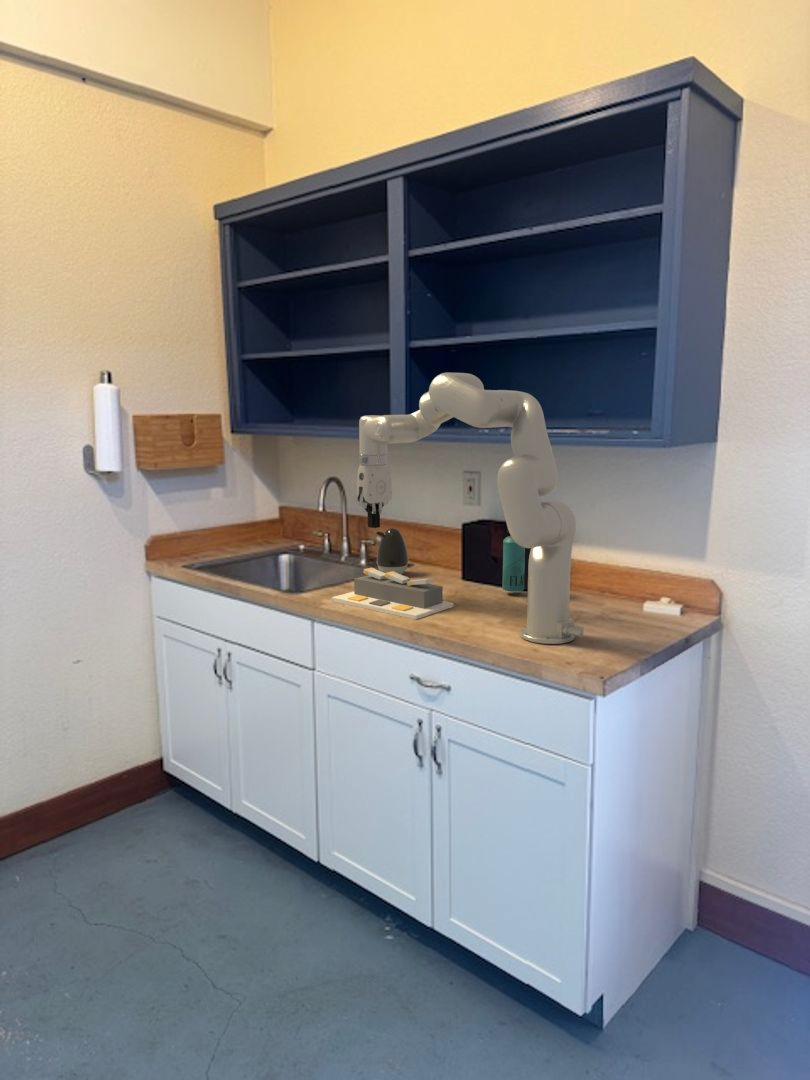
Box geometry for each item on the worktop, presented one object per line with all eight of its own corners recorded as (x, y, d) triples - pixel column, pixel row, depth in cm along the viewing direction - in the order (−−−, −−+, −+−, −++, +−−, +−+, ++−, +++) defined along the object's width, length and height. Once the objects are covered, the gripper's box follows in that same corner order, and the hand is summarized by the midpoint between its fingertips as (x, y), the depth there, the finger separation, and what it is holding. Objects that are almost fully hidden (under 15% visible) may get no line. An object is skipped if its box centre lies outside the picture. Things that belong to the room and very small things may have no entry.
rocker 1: (387, 577, 212) (388, 574, 211) (379, 579, 209) (380, 576, 209) (371, 570, 215) (371, 567, 215) (363, 572, 213) (363, 569, 213)
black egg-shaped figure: (372, 572, 246) (371, 526, 243) (402, 570, 249) (402, 524, 246) (381, 579, 236) (380, 531, 234) (412, 576, 240) (412, 529, 237)
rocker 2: (433, 581, 201) (432, 577, 201) (425, 583, 199) (425, 579, 199) (415, 583, 205) (414, 579, 205) (407, 585, 203) (406, 581, 203)
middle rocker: (409, 581, 207) (410, 578, 206) (401, 583, 204) (402, 580, 204) (392, 574, 210) (392, 571, 210) (384, 576, 208) (384, 573, 208)
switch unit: (453, 606, 203) (453, 586, 202) (415, 619, 191) (415, 598, 190) (370, 590, 222) (370, 571, 221) (331, 600, 210) (331, 581, 209)
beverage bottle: (507, 597, 212) (508, 527, 209) (498, 592, 219) (499, 523, 215) (528, 596, 214) (530, 526, 211) (518, 590, 220) (520, 522, 217)
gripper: (364, 463, 199) (365, 532, 202) (401, 460, 210) (401, 525, 214) (344, 462, 204) (345, 529, 207) (381, 459, 215) (381, 522, 218)
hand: (373, 527), depth 210 cm, fingers closed
